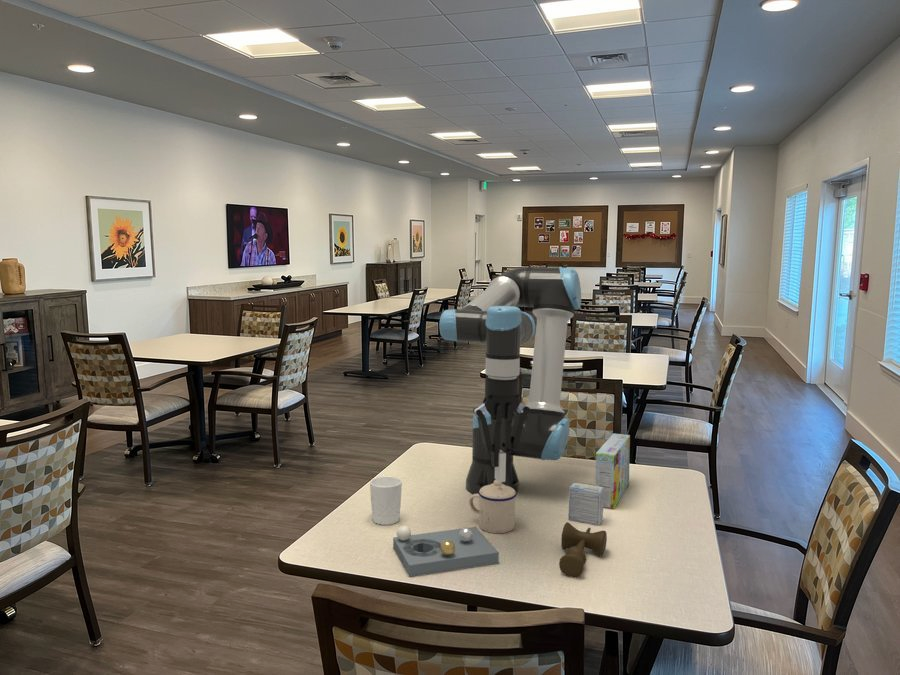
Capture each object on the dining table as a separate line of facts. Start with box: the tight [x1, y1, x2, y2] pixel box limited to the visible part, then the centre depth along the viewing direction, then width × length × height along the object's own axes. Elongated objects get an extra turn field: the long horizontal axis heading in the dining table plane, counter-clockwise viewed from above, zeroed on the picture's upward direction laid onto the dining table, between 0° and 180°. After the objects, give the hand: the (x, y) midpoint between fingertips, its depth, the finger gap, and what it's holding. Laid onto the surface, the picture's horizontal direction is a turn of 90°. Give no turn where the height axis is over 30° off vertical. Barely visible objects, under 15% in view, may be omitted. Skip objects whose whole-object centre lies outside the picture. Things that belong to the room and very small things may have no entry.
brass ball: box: [440, 540, 455, 556], centre depth 139 cm, size 3×3×3 cm
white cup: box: [369, 475, 403, 526], centre depth 163 cm, size 8×8×10 cm
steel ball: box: [459, 526, 473, 542], centre depth 146 cm, size 3×3×3 cm
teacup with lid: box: [468, 480, 517, 534], centre depth 160 cm, size 12×9×12 cm
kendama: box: [558, 521, 608, 578], centre depth 144 cm, size 6×10×20 cm
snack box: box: [594, 433, 631, 510], centre depth 181 cm, size 21×6×15 cm, turn 154°
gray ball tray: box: [392, 526, 500, 578], centre depth 144 cm, size 20×14×2 cm
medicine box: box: [567, 482, 604, 526], centre depth 164 cm, size 8×4×9 cm, turn 65°
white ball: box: [396, 525, 412, 541], centre depth 146 cm, size 3×3×3 cm
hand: (499, 479), depth 146 cm, fingers closed
